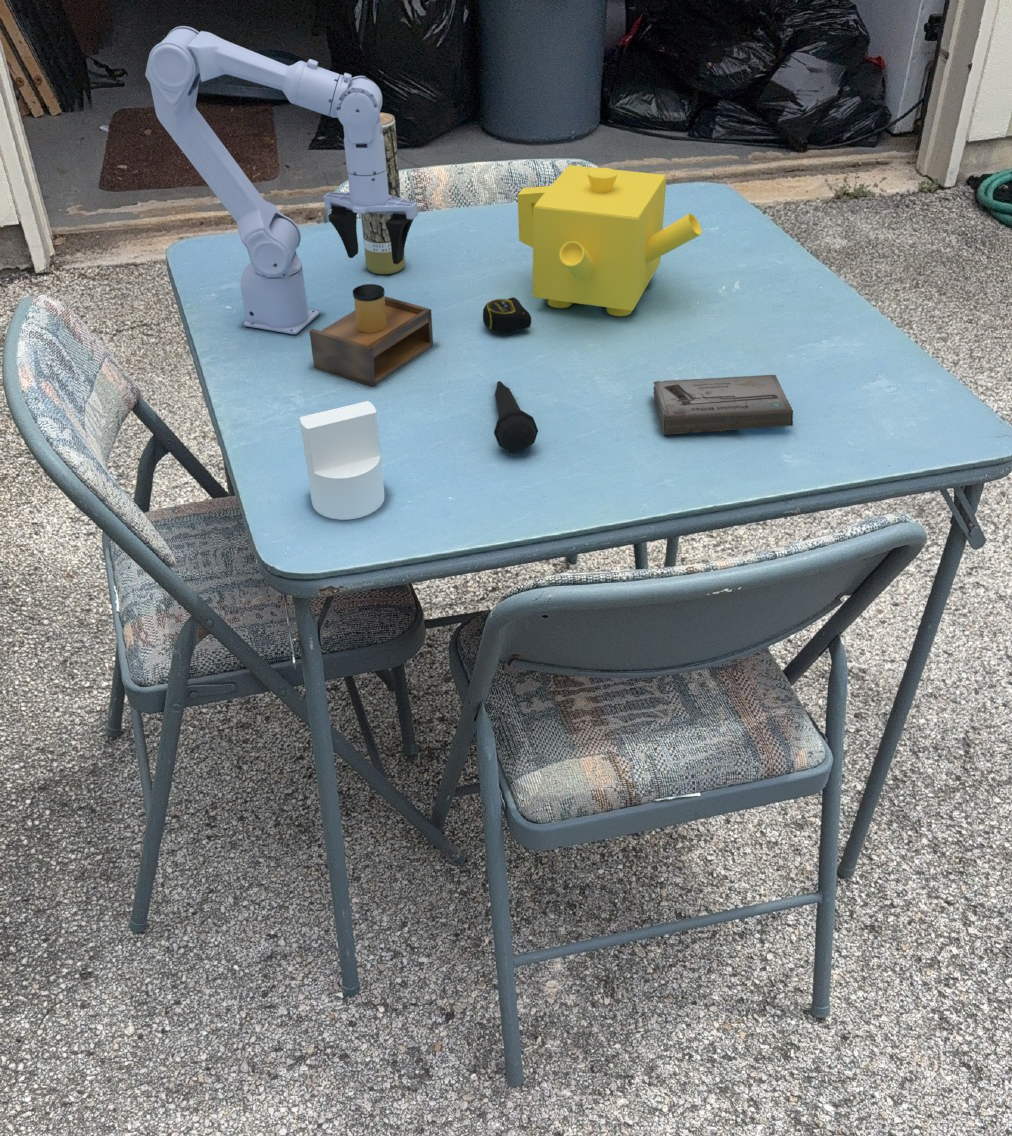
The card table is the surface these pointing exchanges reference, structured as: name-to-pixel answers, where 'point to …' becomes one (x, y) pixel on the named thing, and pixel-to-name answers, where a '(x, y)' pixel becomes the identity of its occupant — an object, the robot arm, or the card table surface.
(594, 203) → the yellow cubic teapot
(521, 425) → the microphone
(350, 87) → the robot arm
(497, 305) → the tape measure
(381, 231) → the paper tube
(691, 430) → the box
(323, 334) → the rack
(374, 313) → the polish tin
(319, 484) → the base with upright slab
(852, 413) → the card table surface
